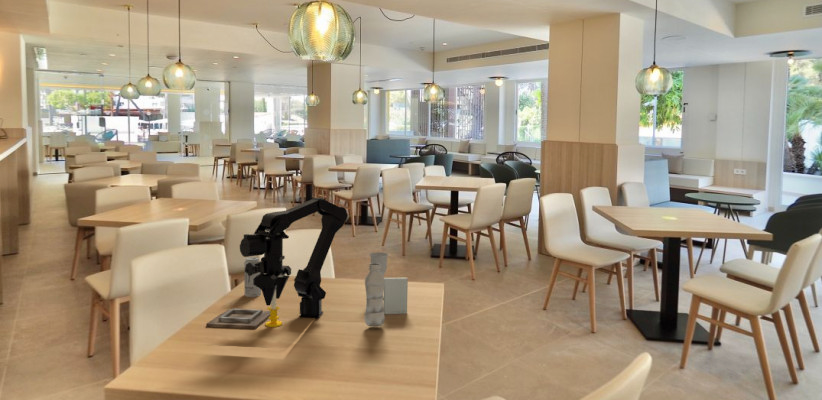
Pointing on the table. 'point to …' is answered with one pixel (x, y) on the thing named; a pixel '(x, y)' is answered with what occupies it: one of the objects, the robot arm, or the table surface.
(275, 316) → the candle
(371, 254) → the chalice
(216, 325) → the socket board
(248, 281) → the energy drink can
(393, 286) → the external hard drive
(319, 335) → the table surface
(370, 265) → the plastic bottle
